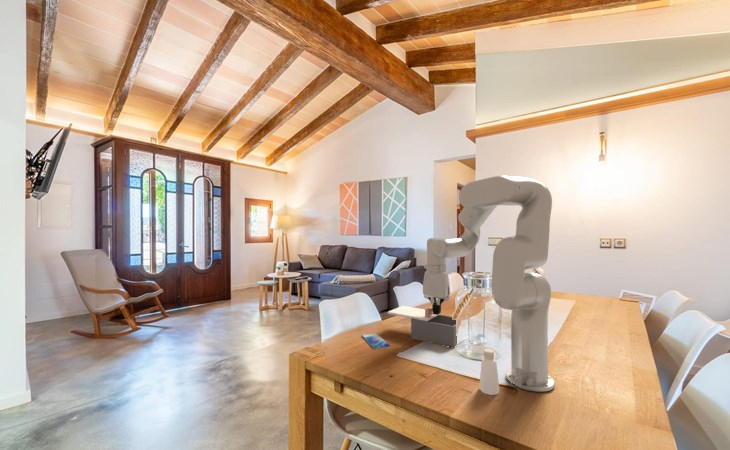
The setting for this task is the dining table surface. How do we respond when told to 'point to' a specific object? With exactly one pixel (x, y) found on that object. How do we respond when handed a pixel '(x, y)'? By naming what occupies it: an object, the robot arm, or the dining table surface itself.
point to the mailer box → (435, 330)
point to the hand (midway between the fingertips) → (436, 313)
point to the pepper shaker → (489, 374)
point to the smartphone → (375, 341)
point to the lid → (414, 313)
